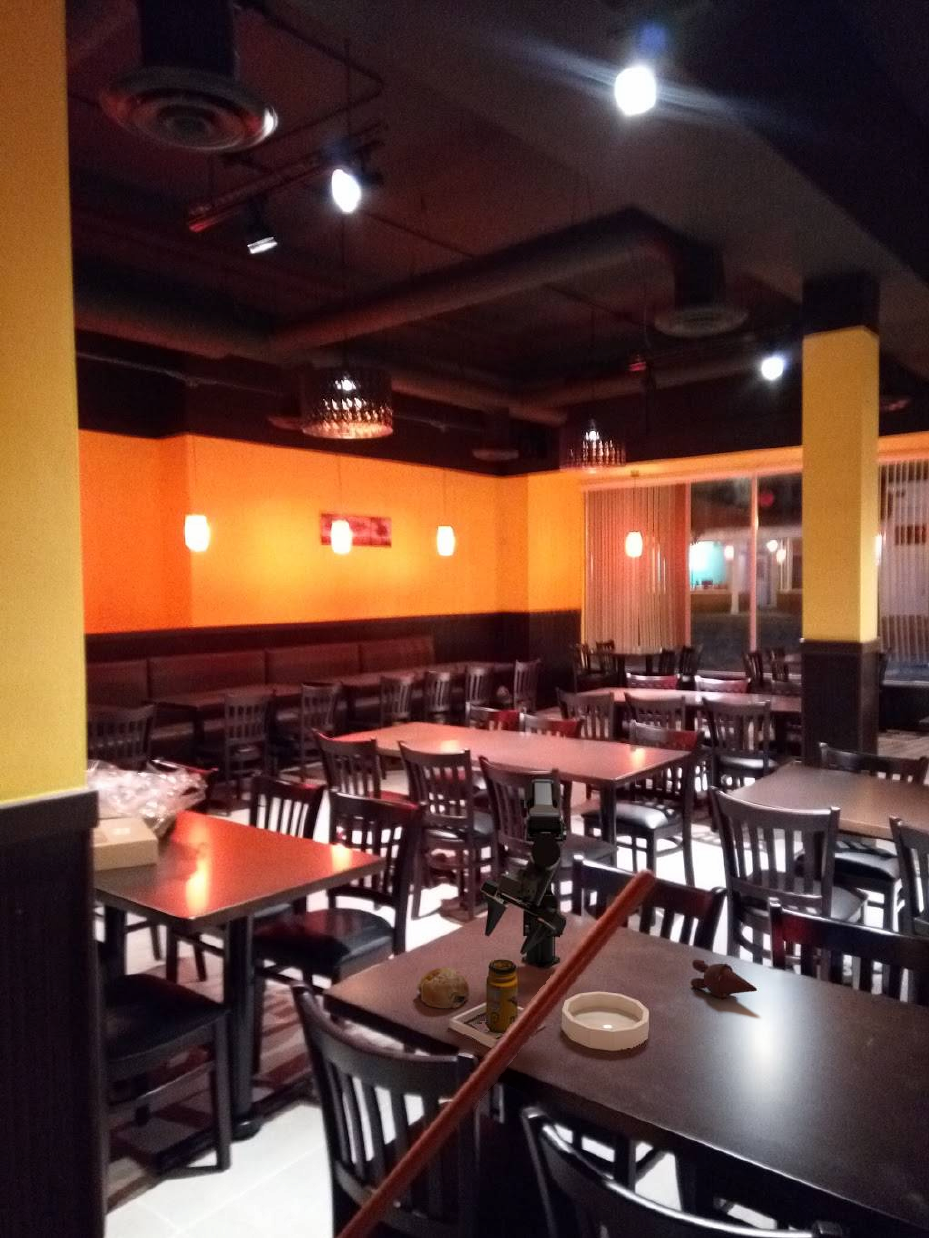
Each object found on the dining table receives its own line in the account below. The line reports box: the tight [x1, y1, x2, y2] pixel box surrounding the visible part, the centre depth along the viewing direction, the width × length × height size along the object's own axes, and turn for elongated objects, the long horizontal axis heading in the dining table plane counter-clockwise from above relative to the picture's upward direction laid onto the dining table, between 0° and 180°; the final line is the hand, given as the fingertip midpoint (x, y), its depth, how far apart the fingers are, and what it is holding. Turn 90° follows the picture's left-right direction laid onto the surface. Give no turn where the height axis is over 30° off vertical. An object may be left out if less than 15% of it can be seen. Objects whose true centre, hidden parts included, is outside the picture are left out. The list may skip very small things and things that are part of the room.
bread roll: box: [416, 966, 470, 1009], centre depth 182 cm, size 10×10×8 cm
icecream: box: [690, 958, 758, 1000], centre depth 184 cm, size 7×7×15 cm
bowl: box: [561, 991, 650, 1052], centre depth 170 cm, size 16×16×4 cm
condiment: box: [468, 958, 519, 1039], centre depth 170 cm, size 7×8×12 cm
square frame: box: [448, 1002, 547, 1049], centre depth 170 cm, size 14×13×2 cm
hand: (503, 944), depth 177 cm, fingers open, 9 cm apart
